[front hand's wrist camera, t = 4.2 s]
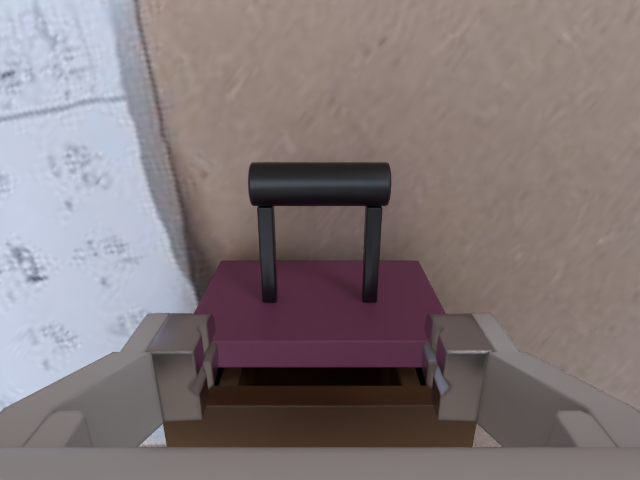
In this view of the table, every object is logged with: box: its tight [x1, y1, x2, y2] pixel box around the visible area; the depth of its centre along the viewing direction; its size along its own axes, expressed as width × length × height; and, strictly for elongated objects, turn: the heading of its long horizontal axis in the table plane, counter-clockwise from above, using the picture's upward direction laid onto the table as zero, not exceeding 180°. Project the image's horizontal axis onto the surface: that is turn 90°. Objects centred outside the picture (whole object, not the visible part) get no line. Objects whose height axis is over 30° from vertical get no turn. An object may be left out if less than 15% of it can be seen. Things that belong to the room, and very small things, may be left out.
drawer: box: [194, 163, 446, 386], centre depth 21 cm, size 25×10×7 cm, turn 0°
